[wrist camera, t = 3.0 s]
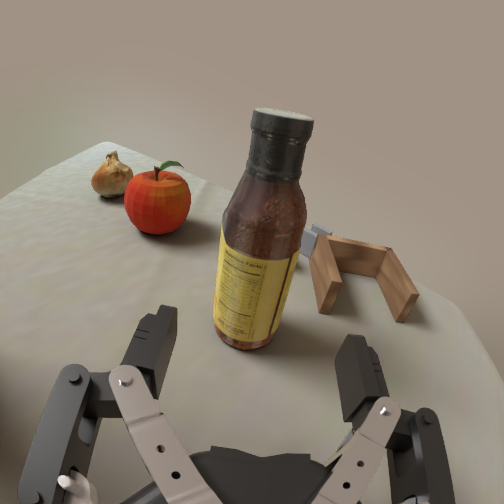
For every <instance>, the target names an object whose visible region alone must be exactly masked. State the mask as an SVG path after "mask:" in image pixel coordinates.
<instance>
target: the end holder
mask: <svg viewBox="0 0 504 504" xmlns="http://www.w3.org/2000/svg"><path fill="white" fill-rule="evenodd" d="M309 264H310V269H311V274H312V279H313V284H314V289H315V295H316V300H317V305H318V311H319V313H323V314H329V313H330V311H331V308H332V306H333V304H334V301H335V299H336V297H337V294H338V292H339V290H340V287H341V285H342V280H341V277H340V274H339V271H342V272H348V273H354V274H359V275H365V276H371V277H376V279H377V282H378V284H379V286H380V288H381V290H382V292H383V295H384V297H385V299H386V301H387V304H388V306H389V308H390V310H391V313H392V315H393V317H394V320H395V322H401V323H403V322H404V320H405V319H406V317H407V315H408V314H409V312H410V310H411V309H412V307H413V305H414V303H415V302H416V300H417V298H418V296H419V293H418V291H417V289H416V288H415V286H414V284H413V283H412V281H411V279H410V278H409V276H408V274H407V273H406V271H405V269H404V268H403V266H402V264H401V263H400V261H399V260H398V258H397V256H396V255H395V253H394V252H393V250H392V249H391V248H388V247H383V246H378V245H374V244H369V243H364V242H359V241H354V240H349V239H345V238H340V237H335V236H330V235H325V234H320V233H318V234H317V237H316V241H315V244H314V247H313V250H312V253H311V256H310V260H309Z"/></svg>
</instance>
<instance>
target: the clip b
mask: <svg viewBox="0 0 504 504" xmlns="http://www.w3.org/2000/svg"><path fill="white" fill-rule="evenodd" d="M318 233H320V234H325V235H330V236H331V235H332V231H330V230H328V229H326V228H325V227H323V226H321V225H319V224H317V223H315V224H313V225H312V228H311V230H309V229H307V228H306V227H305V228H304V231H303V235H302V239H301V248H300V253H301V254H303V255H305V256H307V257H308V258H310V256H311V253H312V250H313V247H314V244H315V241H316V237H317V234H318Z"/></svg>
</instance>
